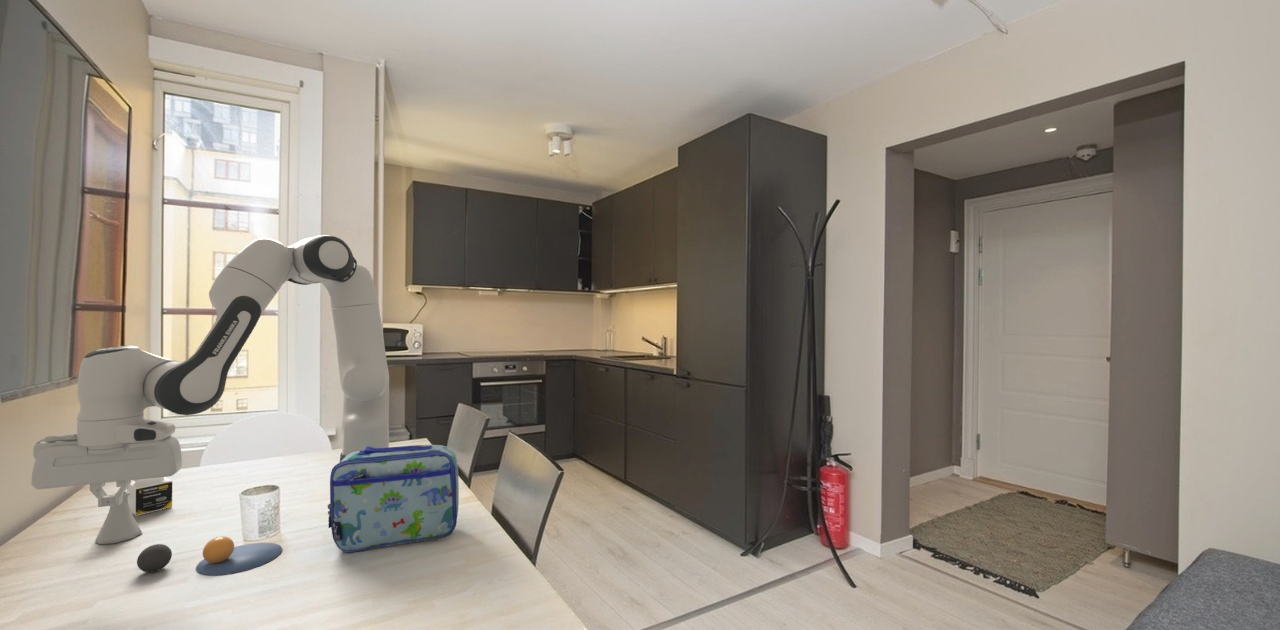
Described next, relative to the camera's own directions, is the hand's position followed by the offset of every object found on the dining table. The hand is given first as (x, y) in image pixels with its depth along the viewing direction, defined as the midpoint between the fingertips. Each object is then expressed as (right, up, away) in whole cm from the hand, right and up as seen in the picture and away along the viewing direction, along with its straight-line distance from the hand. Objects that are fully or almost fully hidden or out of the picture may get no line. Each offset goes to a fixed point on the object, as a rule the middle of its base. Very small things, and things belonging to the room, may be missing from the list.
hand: (110, 505), depth 98 cm
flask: (-17, -14, +18) cm, 29 cm away
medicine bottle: (-27, -14, +36) cm, 47 cm away
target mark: (+18, -14, +9) cm, 24 cm away
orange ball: (+15, -12, +7) cm, 20 cm away
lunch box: (+46, -15, +18) cm, 51 cm away
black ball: (+5, -12, +4) cm, 13 cm away
